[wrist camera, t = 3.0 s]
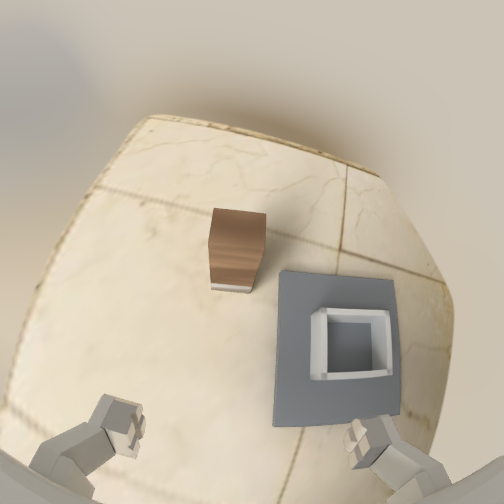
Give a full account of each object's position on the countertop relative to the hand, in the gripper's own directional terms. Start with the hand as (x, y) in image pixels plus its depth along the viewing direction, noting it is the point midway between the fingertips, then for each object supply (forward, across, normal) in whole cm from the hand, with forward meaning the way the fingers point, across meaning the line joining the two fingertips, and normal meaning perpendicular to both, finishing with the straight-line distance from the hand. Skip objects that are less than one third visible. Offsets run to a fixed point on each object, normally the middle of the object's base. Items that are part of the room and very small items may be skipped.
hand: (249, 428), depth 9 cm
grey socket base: (+16, -11, +8) cm, 21 cm away
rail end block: (+21, +1, +3) cm, 21 cm away
